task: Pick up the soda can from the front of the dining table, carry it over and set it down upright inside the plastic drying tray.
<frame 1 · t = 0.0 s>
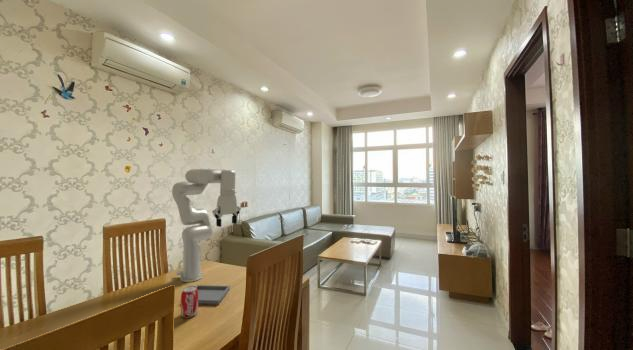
hand: (226, 224, 135), 37 cm above the table, tool pointing down, fingers open, 9 cm apart
soda can: (189, 315, 115), on the table
drying tray: (207, 296, 132), on the table
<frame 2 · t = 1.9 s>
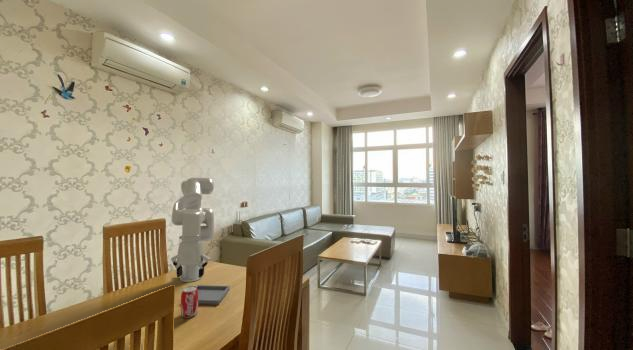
hand: (190, 276, 114), 18 cm above the table, tool pointing down, fingers open, 9 cm apart
nothing on the table moved.
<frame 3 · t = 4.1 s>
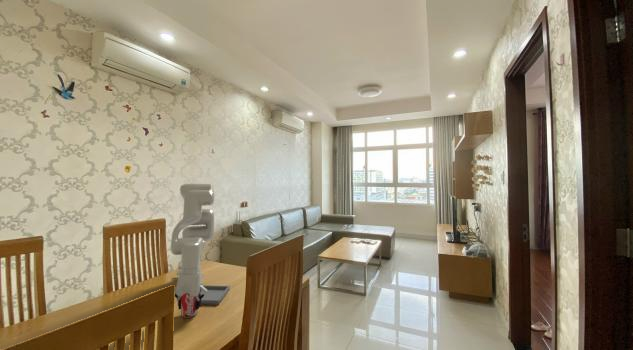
hand: (189, 307, 115), 3 cm above the table, tool pointing down, fingers closed on soda can, 7 cm apart
soda can: (189, 315, 115), on the table, touching gripper
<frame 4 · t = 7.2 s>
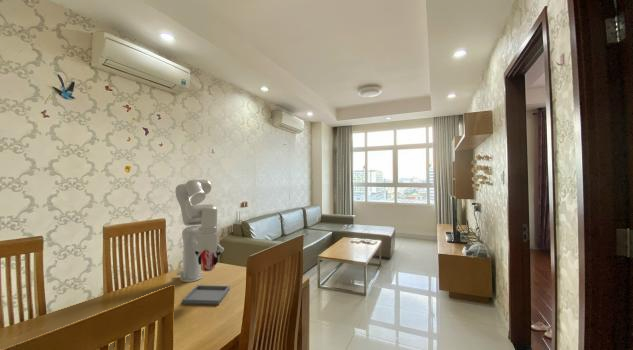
hand: (208, 263, 132), 17 cm above the table, tool pointing down, fingers closed on soda can, 7 cm apart
soda can: (207, 270, 132), point 14 cm above the table, touching gripper
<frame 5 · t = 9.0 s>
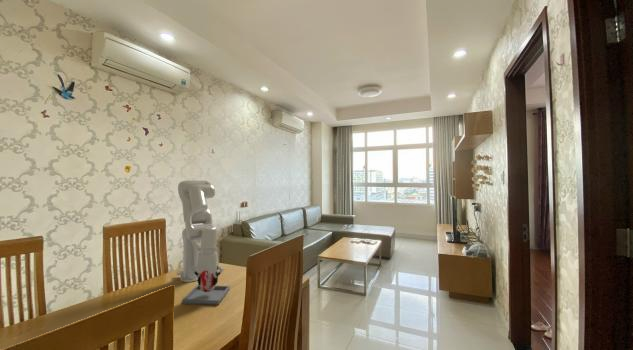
hand: (207, 284, 132), 7 cm above the table, tool pointing down, fingers closed on soda can, 7 cm apart
soda can: (207, 290, 132), point 3 cm above the table, touching gripper
when the fingers open (5 cm above the table, at t = 10.3 s): soda can drops 1 cm, resting on drying tray.
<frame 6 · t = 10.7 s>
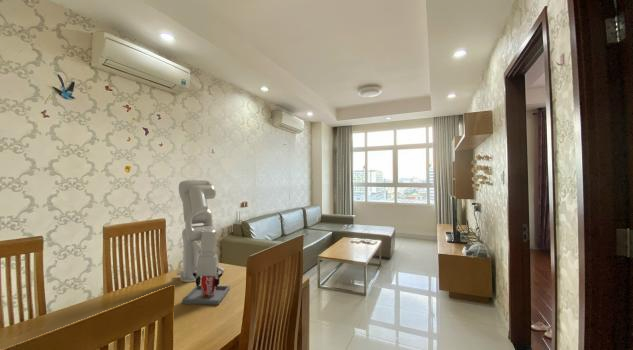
hand: (207, 285, 132), 6 cm above the table, tool pointing down, fingers open, 9 cm apart
soda can: (208, 295, 132), resting on drying tray
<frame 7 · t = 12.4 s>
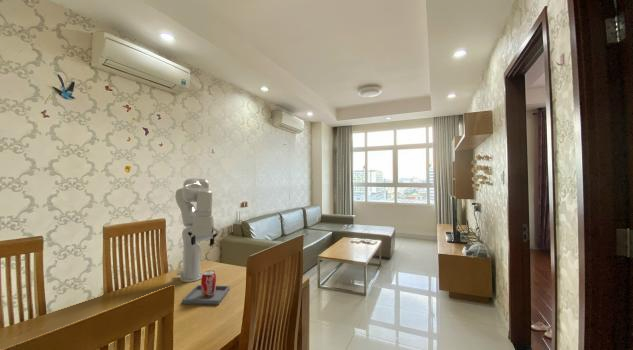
hand: (202, 244, 134), 26 cm above the table, tool pointing down, fingers open, 9 cm apart
nothing on the table moved.
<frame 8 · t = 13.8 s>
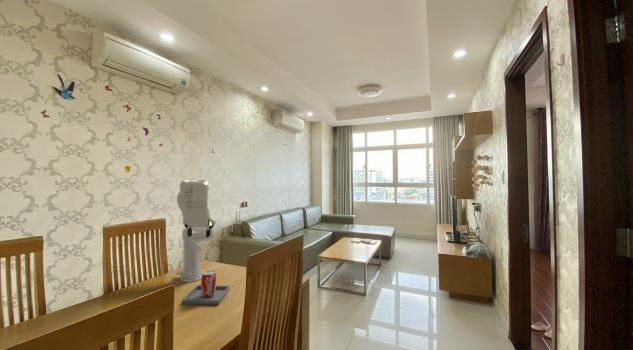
hand: (198, 236, 135), 30 cm above the table, tool pointing down, fingers open, 9 cm apart
nothing on the table moved.
at the end: soda can inside the target area on the drying tray (0.5 cm from its centre), point 0.4 cm above the drying tray's base; soda can tilted 0°; the gripper is holding nothing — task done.
